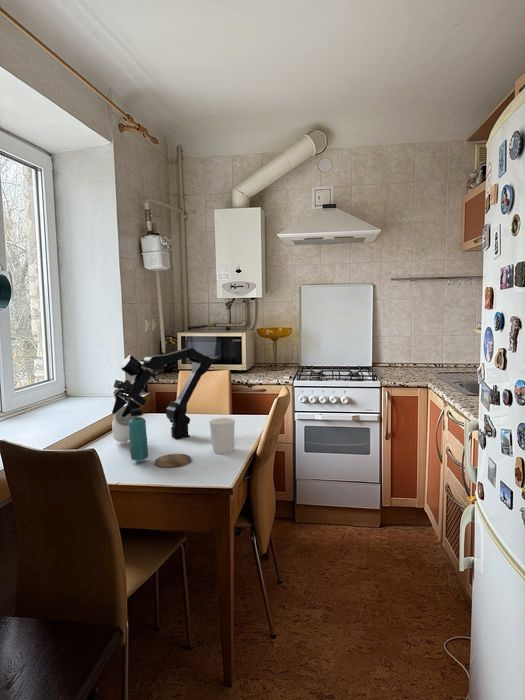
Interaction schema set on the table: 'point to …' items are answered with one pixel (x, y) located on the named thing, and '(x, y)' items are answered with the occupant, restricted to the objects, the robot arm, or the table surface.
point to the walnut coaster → (172, 460)
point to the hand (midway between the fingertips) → (117, 415)
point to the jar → (121, 426)
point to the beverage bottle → (138, 436)
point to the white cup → (222, 435)
